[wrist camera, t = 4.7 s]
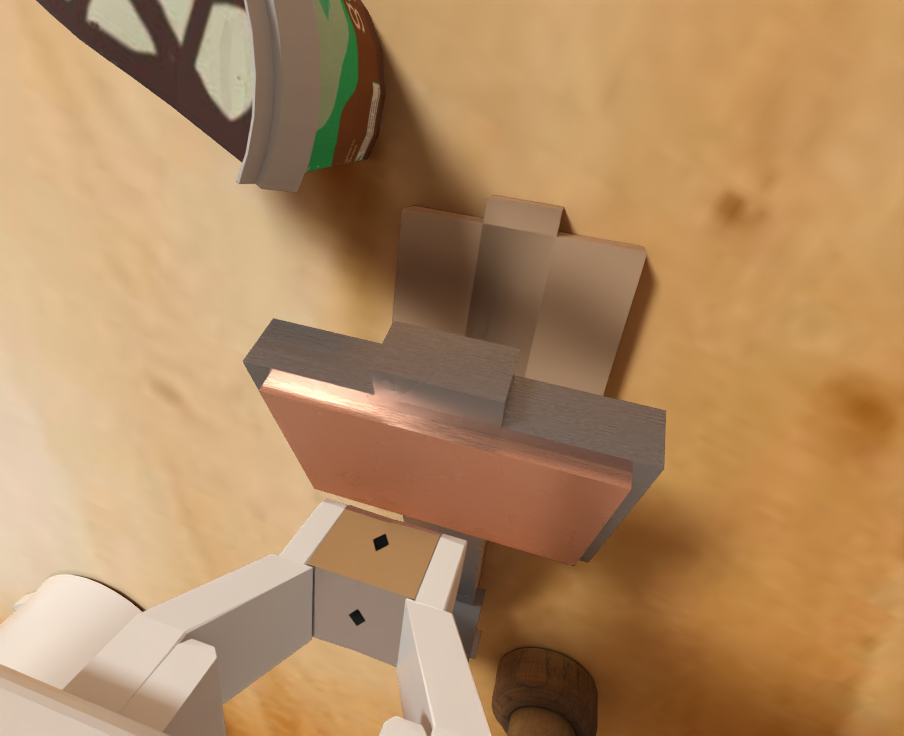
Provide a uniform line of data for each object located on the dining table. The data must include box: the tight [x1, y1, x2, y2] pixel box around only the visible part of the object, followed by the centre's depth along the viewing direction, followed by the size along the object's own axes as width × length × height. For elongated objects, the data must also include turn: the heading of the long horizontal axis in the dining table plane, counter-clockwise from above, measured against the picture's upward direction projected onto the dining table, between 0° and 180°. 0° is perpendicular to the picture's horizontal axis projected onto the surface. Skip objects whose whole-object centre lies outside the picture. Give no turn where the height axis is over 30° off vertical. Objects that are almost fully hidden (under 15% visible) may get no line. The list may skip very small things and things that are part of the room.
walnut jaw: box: [392, 195, 647, 666], centre depth 23 cm, size 25×10×6 cm, turn 171°
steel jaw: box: [243, 318, 666, 606], centre depth 18 cm, size 20×10×2 cm, turn 170°
